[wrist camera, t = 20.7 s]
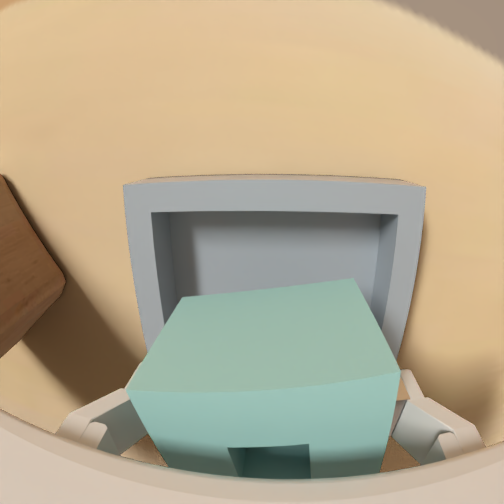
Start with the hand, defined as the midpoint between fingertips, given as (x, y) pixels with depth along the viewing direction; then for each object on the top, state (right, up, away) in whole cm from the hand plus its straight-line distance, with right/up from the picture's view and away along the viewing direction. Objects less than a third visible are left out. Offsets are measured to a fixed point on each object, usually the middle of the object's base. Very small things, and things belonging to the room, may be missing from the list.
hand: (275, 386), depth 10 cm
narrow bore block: (0, +1, +1) cm, 2 cm away
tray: (0, +2, +6) cm, 7 cm away
